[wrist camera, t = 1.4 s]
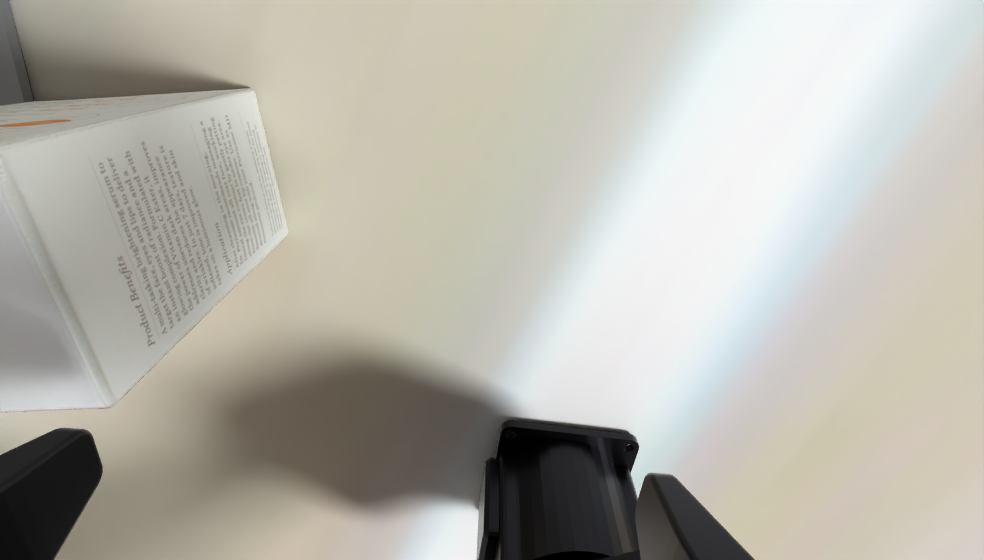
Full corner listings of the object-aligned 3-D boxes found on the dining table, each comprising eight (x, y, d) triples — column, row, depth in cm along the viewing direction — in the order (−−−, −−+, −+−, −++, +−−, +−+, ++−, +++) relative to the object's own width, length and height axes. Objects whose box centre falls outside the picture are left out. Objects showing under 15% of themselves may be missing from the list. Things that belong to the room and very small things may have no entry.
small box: (97, 245, 20) (-252, 430, 11) (35, 96, 18) (-484, 170, 8) (295, 236, 20) (113, 419, 11) (259, 84, 18) (-17, 147, 8)
